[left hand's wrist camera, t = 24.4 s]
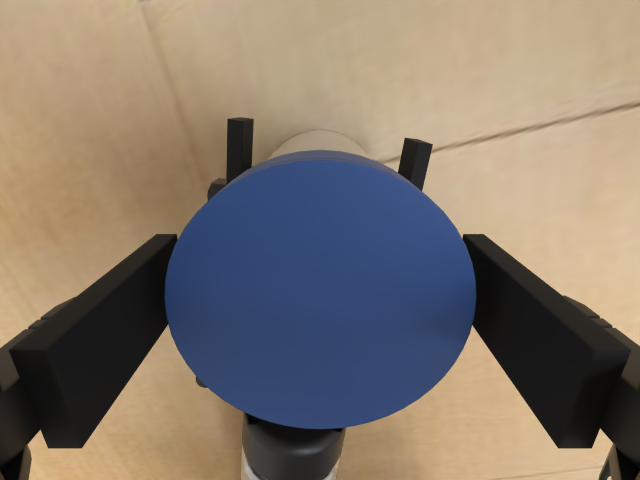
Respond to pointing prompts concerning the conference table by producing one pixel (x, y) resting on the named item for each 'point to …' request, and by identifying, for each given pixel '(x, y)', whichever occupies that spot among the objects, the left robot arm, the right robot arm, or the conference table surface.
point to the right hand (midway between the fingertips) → (330, 130)
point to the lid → (320, 291)
